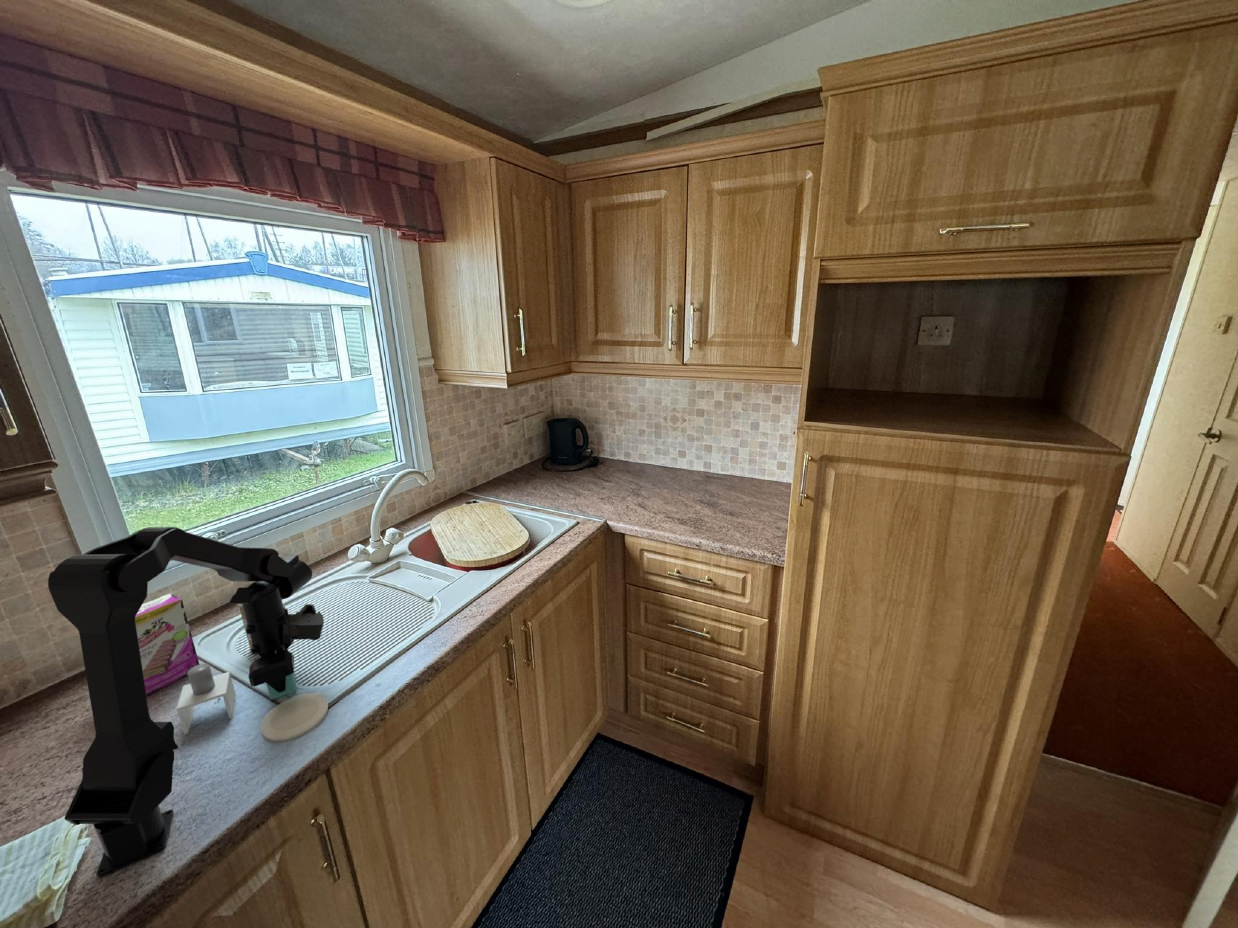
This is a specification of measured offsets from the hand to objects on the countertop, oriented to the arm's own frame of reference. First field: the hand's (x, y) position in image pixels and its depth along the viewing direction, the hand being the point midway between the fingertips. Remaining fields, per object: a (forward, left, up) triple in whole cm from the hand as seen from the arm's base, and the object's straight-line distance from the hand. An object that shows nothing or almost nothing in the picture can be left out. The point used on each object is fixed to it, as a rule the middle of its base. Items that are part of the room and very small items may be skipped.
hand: (282, 684), depth 92 cm
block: (0, 0, -1) cm, 1 cm away
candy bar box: (+16, +20, -1) cm, 26 cm away
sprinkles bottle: (+18, +4, -1) cm, 18 cm away
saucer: (-10, -2, -1) cm, 10 cm away
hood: (0, +11, -1) cm, 11 cm away
